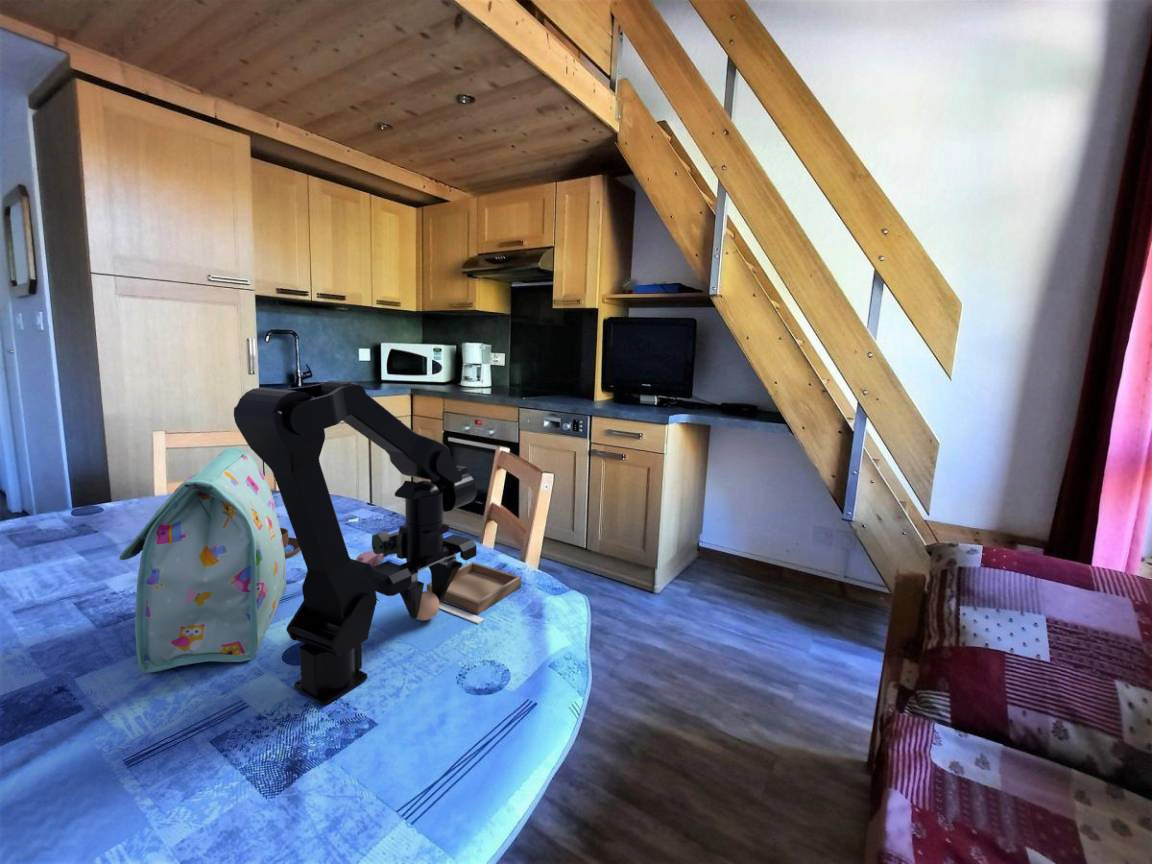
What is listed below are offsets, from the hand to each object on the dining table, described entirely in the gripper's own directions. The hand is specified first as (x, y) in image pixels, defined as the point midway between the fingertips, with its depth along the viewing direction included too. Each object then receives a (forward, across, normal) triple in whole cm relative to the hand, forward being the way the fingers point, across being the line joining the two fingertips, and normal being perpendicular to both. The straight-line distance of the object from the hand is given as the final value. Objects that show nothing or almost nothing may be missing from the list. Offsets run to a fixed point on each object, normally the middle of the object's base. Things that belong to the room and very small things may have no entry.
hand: (425, 611), depth 82 cm
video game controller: (+2, -3, -20) cm, 20 cm away
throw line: (+1, -4, 0) cm, 5 cm away
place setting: (+2, +2, -49) cm, 49 cm away
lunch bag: (+2, +19, -23) cm, 30 cm away
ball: (+1, 0, 0) cm, 1 cm away
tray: (+1, -12, 0) cm, 12 cm away
